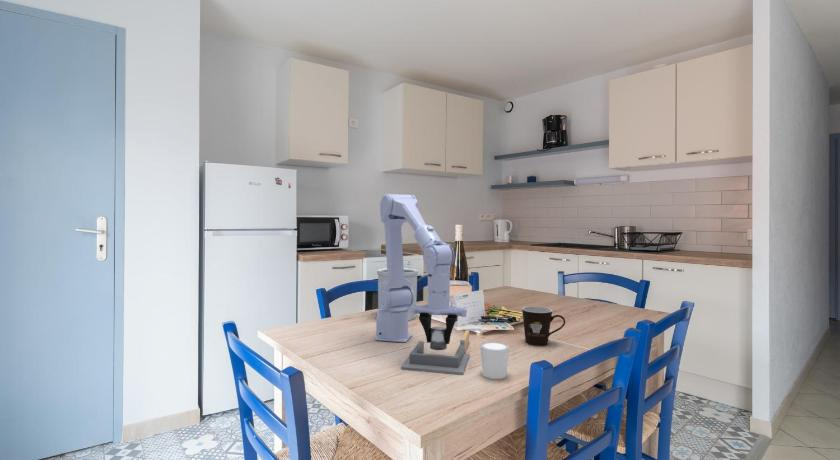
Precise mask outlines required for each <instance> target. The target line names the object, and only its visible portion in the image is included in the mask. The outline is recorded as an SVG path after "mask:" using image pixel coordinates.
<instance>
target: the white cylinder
mask: <svg viewBox="0 0 840 460" xmlns="http://www.w3.org/2000/svg"><path fill="white" fill-rule="evenodd" d="M509 353H510V346H509V345H507V344H506V343H503V342H498V341H497V342H496V341H495V342H494V341H491V342H483V343H482V344H480V355H481V369H482V375H483V376H484V378H486V379H491V380H502V379H505V378H506V377H507V374H508V363H509Z"/></svg>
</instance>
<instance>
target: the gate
mask: <svg viewBox="0 0 840 460" xmlns="http://www.w3.org/2000/svg"><path fill="white" fill-rule="evenodd" d="M459 343H460V344H462V345H464V353H465V352H466V350H467V348H468V345H469V343H470V330H469V329H467V330H465V331H464V333H463V335H462V338H461V339H460V340H459ZM460 344H459V345H460ZM465 354H466V353H465Z"/></svg>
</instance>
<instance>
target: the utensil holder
mask: <svg viewBox="0 0 840 460" xmlns="http://www.w3.org/2000/svg"><path fill="white" fill-rule="evenodd" d="M376 271H377V272H376V273H377V281H378V282H377V297H378V298H377V300H378V301H377V305H378V306H377V308H378V309H377V311H378V310H379V309H382V307H381V306H380V304H379V292H380V285H381V284H382V283H383V282H384V281H385V280H386V279H387V278H388V274H387V267H384V268H383V267H382V268H380V269H377V270H376ZM418 274H419V270H418V269H415V268H410V267H409V268H406V267H404V277H405V278H406V279H407V280H409V281H410V282H411V283H412V289H413V292H414V303H413V305H415V306H417V297H418V295H417V294H418V293H417V292H418V290H417V289H418V287H417V286H418ZM401 287H402V286H398V287H391V288H401ZM391 288H390V289H391ZM413 305H412V306H413ZM416 315H417V314H411V307H410V309H409V310H408V321H412V320H414V319H415V318H416Z"/></svg>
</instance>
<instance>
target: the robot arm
mask: <svg viewBox="0 0 840 460" xmlns="http://www.w3.org/2000/svg"><path fill="white" fill-rule="evenodd" d="M379 211H380V212H379V213H380V221H381V222H382V223H383V225H384V238H385V239H384V240H385V254H386V257H385V258H386V268H387V274H388V278H387V279H386V280H385V281H384V282H383V283H382V284H381V285H380V292H379V304H380V306H381V307H382V309H379V310H378V309H377V314H376V321H375V323H376V324H375V325H376V329H375V330H376V331H375V332H376V336H375V341H381V342H383V341H385V342H396V343H407V342H408V340H409V339H410V338H411V337H412V335H413V334H412V333H409V320H408V310H409V309H410V307H411V314H416V315H419V316H418V320H419V322H420V324H421V326H422V329H423V330H424V331H423V332H424V334H425V338H426V343H429V344H430V328H432V315H433V316H434V315H435V316H446V318H445V328H446V344H447V345H450V342H451V335H452V332H453V328H454V326H455V323H456V322H457V319H458V317H462V318H466V317H467V314H468V313H467V312H468V311H467V308H466V307H457V306H450V292H451V291H450V288H451V287H450V284H451V283H450V281H451V280H450V279H451V277H450V273H451V272H450V271H451V269H450V268H451V267H450V266H452V265H453V264H454V262H455V251H454V249H453V246H452V245H451V244H449V243H446V241H445V242H444V241H442V239H441V238H440V236H439V234H438V233H437V232H436V230H435V228H434V227H433V226H432V225H430V224H426V222H425V220H424V218H423V217H422V215H421V212H420V210H419V201H418V200H417V198H416V195H414V194H410V193H409V194H396V193H394V194H393V193H384V194H383V196H382V197H381V200H380V202H379ZM406 222H407V224H409V226H410V227H411V228H412V229H413V231H414V235H413V236H414V239H415V241H416V243H417V244H418V246H419V248H420V249H421V251H422V252H423V255H422V259H423V263H424V266H425V272H426V274H427V305H416V306H415V305H413V303H414V292H413V289H412V283H411V282H410V281H409V280H407V279H406V278H405V277H404V268H405V264H404V251H403V236H402V226H403V225H404V223H406ZM398 286H402V287H401V288H391V287H398ZM390 288H391V289H390ZM412 305H413V306H412Z"/></svg>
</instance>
